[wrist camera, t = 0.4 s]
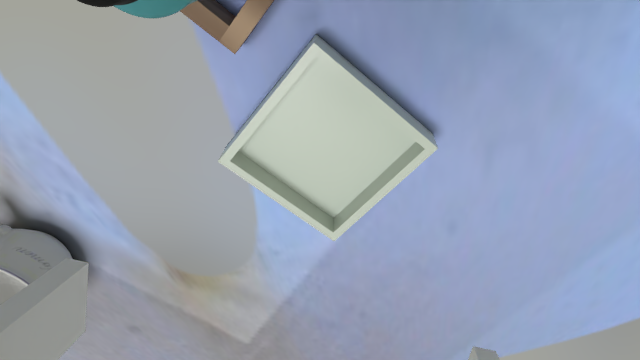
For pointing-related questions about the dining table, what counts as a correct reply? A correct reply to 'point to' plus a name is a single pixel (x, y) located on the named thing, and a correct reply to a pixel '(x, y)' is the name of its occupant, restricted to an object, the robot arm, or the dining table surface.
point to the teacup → (26, 258)
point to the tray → (327, 142)
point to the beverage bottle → (143, 6)
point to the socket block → (227, 20)
